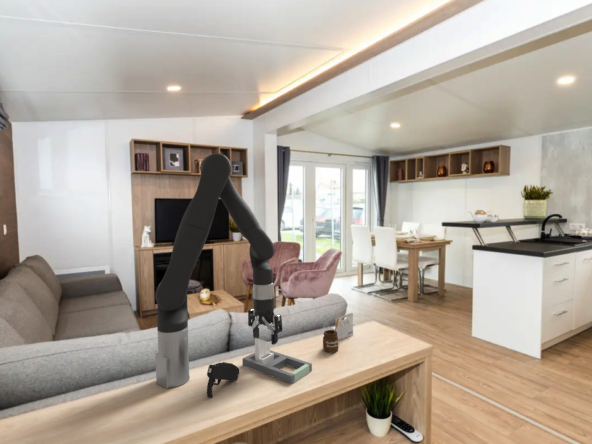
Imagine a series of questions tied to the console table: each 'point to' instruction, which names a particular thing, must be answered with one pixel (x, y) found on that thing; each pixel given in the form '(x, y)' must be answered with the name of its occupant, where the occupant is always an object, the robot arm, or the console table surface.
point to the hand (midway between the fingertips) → (265, 341)
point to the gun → (221, 374)
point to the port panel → (279, 367)
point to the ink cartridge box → (344, 326)
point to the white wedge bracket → (263, 351)
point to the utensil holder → (330, 339)
